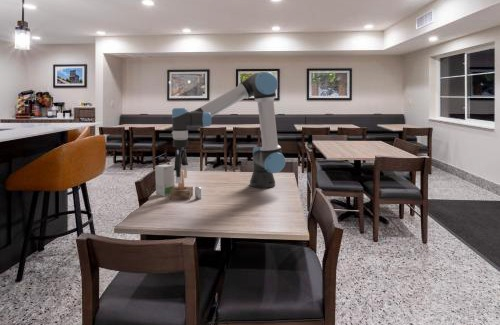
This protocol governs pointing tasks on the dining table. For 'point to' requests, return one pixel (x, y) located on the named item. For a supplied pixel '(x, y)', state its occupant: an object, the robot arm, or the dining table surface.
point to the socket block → (181, 193)
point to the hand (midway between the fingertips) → (181, 180)
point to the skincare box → (164, 179)
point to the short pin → (197, 193)
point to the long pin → (181, 185)
